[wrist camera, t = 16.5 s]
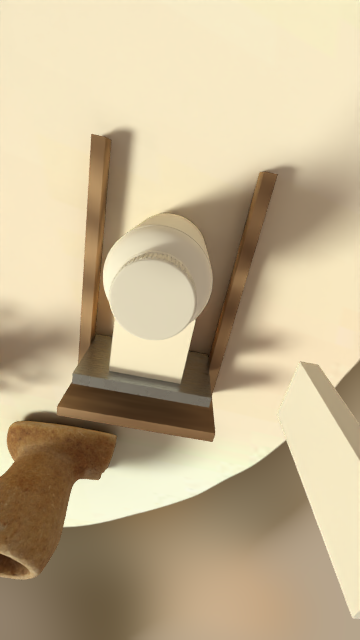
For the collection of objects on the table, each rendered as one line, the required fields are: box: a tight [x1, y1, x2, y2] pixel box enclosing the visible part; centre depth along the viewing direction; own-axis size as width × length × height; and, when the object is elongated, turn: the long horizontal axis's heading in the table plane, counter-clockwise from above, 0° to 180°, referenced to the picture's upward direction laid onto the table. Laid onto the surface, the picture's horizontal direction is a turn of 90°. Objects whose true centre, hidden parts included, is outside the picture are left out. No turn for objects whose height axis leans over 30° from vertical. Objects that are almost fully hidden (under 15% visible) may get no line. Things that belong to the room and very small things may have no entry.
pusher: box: [72, 334, 212, 408], centre depth 32 cm, size 1×13×8 cm, turn 79°
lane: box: [57, 134, 278, 442], centre depth 29 cm, size 26×16×8 cm, turn 169°
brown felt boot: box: [0, 421, 117, 579], centre depth 37 cm, size 15×12×15 cm
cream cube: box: [109, 319, 196, 384], centre depth 31 cm, size 7×7×7 cm
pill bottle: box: [103, 213, 213, 340], centre depth 24 cm, size 8×8×15 cm
